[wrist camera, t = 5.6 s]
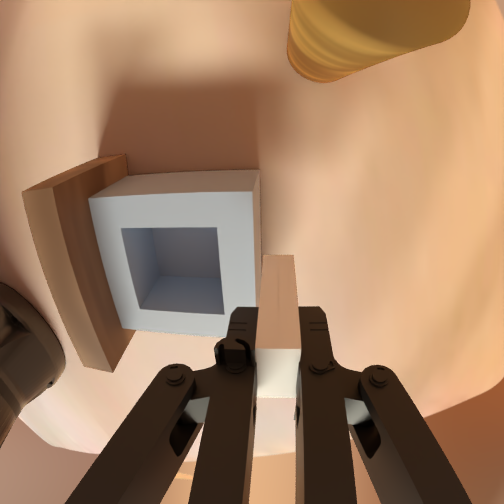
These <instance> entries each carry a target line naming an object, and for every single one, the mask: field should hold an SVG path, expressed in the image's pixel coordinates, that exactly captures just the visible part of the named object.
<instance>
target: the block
mask: <svg viewBox="0 0 504 504" xmlns="http://www.w3.org/2000/svg"><path fill="white" fill-rule="evenodd" d="M88 201H89V206H90V211H91V216H92V220H93V225H94V230H95V234H96V238H97V243H98V247H99V251H100V255H101V259H102V262H103V266H104V270H105V273H106V277H107V281H108V284H109V287H110V291H111V294H112V297H113V301H114V304H115V307H116V310H117V313H118V316H119V319H120V322H121V325H122V328H124V329H133V330H141V331H150V332H160V333H171V334H182V335H194V336H208V337H225V338H226V335H227V331H228V325H229V320H230V315H231V313H232V312H233V311H234V310H235V308H236V307H259V300H260V289H261V277H262V267H261V213H260V170H214V171H190V172H172V173H157V174H143V175H131V176H126V177H124V178H122V179H121V180H119V181H117V182H115V183H113V184H112V185H110V186H108V187H107V188H105V189H103V190H101V191H100V192H98V193H96V194H95V195H93V196H91V197H90V198H88Z"/></svg>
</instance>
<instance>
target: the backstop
mask: <svg viewBox="0 0 504 504" xmlns="http://www.w3.org/2000/svg"><path fill="white" fill-rule="evenodd" d="M126 176H128V169H127V161H126V154H123V155H115V156H107V157H100V158H96V159H93V160H91V161H88V162H86V163H84V164H81V165H79V166H76V167H74V168H72V169H69V170H67V171H65V172H63V173H60V174H58V175H56V176H54V177H51V178H49V179H47V180H45V181H43V182H41V183H39V184H37V185H35V186H33V187H31V188H29V189H27V190H25V191H23V192H22V197H23V201H24V206H25V210H26V214H27V218H28V222H29V226H30V229H31V233H32V237H33V240H34V244H35V247H36V250H37V253H38V257H39V260H40V263H41V266H42V269H43V272H44V275H45V278H46V280H47V283H48V286H49V289H50V291H51V294H52V296H53V299H54V302H55V304H56V307H57V309H58V311H59V314H60V316H61V319H62V321H63V323H64V326H65V328H66V330H67V332H68V335H69V337H70V339H71V341H72V343H73V345H74V347H75V349H76V351H77V353H78V356H79V358H80V360H81V361H82V363H83V365H84V367H89V368H93V369H98V370H102V371H107V372H112V373H113V372H114V370H115V368H116V366H117V364H118V362H119V361H120V359H121V357H122V355H123V353H124V351H125V349H126V348H127V346H128V344H129V342H130V340H131V339H132V337H133V335H134V333H135V331H136V330H133V329H124V328H122V325H121V322H120V319H119V316H118V313H117V310H116V307H115V304H114V301H113V297H112V294H111V291H110V287H109V284H108V281H107V277H106V273H105V270H104V266H103V262H102V259H101V255H100V251H99V247H98V243H97V238H96V234H95V230H94V225H93V220H92V216H91V211H90V206H89V201H88V198H90V197H91V196H93V195H95V194H96V193H98V192H100V191H101V190H103V189H105V188H107V187H108V186H110V185H112V184H113V183H115V182H117V181H119V180H121V179H122V178H124V177H126Z"/></svg>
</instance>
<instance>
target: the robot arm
mask: <svg viewBox="0 0 504 504" xmlns="http://www.w3.org/2000/svg"><path fill="white" fill-rule="evenodd" d="M214 352H215V359H216V364H215V365H214V366H212V367H210V368H206V369H202V370H197V371H192V369H191V368H190V367H188V366H186V365H184V364H171V365H168V366H166V367H164V368H163V369H161V370H160V371H159V372H158V374H157V375H156V377H155V378H154V379H153V381H152V382H151V384H150V385H149V386H148V388H147V389H146V390H145V392H144V393H143V395H142V396H141V397H140V399H139V400H138V402H137V403H136V404H135V406H134V407H133V409H132V410H131V411H130V413H129V414H128V415H127V417H126V418H125V420H124V421H123V422H122V424H121V425H120V427H119V428H118V429H117V431H116V432H115V434H114V435H113V436H112V438H111V439H110V441H109V442H108V443H107V445H106V446H105V448H104V449H103V450H102V452H101V453H100V455H99V456H98V458H97V459H96V460H95V462H94V463H93V464H92V466H91V467H90V469H89V470H88V471H87V473H86V474H85V476H84V477H83V478H82V480H81V481H80V483H79V484H78V486H77V487H76V488H75V490H74V491H73V492H72V494H71V496H70V497H69V498H68V500H67V501H66V502H65V504H160V502H161V501H162V499H163V497H164V495H165V493H166V491H167V490H168V488H169V486H170V485H171V483H172V481H173V479H174V477H175V476H176V474H177V472H178V470H179V468H180V467H181V465H182V463H183V461H184V459H185V457H186V456H187V454H188V452H189V450H190V448H191V446H192V445H193V443H194V441H195V439H196V437H197V435H198V433H199V431H200V430H201V428H202V426H203V424H204V428H203V432H202V437H201V442H200V447H199V452H198V457H197V462H196V467H195V472H194V477H193V482H192V487H191V492H190V497H189V502H188V504H249V494H250V482H251V471H252V459H253V448H254V435H255V423H256V410H257V407H256V400H257V397H267V398H296V408H295V415H294V420H295V421H296V503H295V504H357V498H356V487H355V478H354V469H353V460H352V451H351V443H350V436H349V431H350V433H351V435H352V438H353V440H354V442H355V444H356V447H357V449H358V451H359V453H360V456H361V458H362V460H363V463H364V465H365V467H366V469H367V472H368V474H369V477H370V479H371V481H372V483H373V486H374V488H375V490H376V493H377V495H378V497H379V500H380V502H381V504H472V503H471V501H470V499H469V497H468V495H467V493H466V491H465V490H464V488H463V486H462V484H461V482H460V480H459V479H458V477H457V475H456V473H455V471H454V470H453V468H452V466H451V464H450V463H449V461H448V459H447V457H446V456H445V454H444V452H443V451H442V449H441V447H440V445H439V444H438V442H437V440H436V439H435V437H434V435H433V434H432V432H431V430H430V429H429V427H428V425H427V424H426V422H425V421H424V419H423V417H422V416H421V414H420V412H419V411H418V409H417V407H416V406H415V404H414V403H413V401H412V399H411V398H410V396H409V395H408V393H407V392H406V390H405V388H404V387H403V385H402V384H401V382H400V381H399V379H398V377H397V376H396V374H395V373H394V372H393V371H392V370H391V369H389V368H387V367H385V366H381V365H372V366H369V367H367V368H365V369H364V370H363V372H358V371H353V370H349V369H346V368H344V367H342V366H340V365H339V364H338V363H337V361H336V360H335V359H334V356H333V352H332V346H331V341H330V335H329V331H328V324H327V319H326V314H325V313H324V311H323V310H322V309H321V308H320V307H319V306H317V307H298V298H297V287H296V275H295V265H294V255H263V266H262V277H261V289H260V300H259V307H236V308H235V310H234V311H233V312H232V313H231V315H230V320H229V325H228V331H227V335H226V338H223V339H221V340H220V341H219V342H218V343H216V345H215V347H214ZM64 369H65V358H64V354H63V351H62V349H61V346H60V344H59V342H58V340H57V338H56V337H55V335H54V333H53V332H52V330H51V329H50V327H49V326H48V325H47V323H46V322H45V321H44V319H43V318H42V317H41V316H40V314H39V313H38V312H37V311H36V310H35V309H34V308H33V307H32V306H31V305H30V304H29V303H28V302H27V301H26V300H25V299H24V298H23V297H22V296H21V295H19V294H18V293H17V292H15V291H14V290H13V289H11V288H10V287H8V286H6V285H4V284H2V283H0V448H1V446H2V444H3V442H4V440H5V438H6V437H7V435H8V433H9V431H10V429H11V427H12V426H13V424H14V422H15V420H16V418H17V417H18V415H19V414H20V412H21V410H22V409H23V407H24V406H25V405H27V404H28V403H29V402H31V401H32V400H34V399H35V398H36V397H38V396H39V395H40V394H41V393H43V392H44V391H45V390H46V389H47V388H50V387H52V386H53V385H54V384H55V383H56V382H57V380H58V379H59V377H60V376H61V374H62V373H63V371H64ZM204 422H205V423H204Z"/></svg>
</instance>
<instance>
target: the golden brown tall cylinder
mask: <svg viewBox="0 0 504 504" xmlns="http://www.w3.org/2000/svg"><path fill="white" fill-rule="evenodd" d="M469 10H470V0H292V4H291V14H290V24H289V34H288V43H287V55H288V59H289V61H290V64H291V65H292V67H293V68H294V70H295V71H296V72H297V73H299V74H300V75H301V76H303V77H304V78H306V79H308V80H311V81H314V82H319V83H327V82H333V81H336V80H338V79H340V78H343V77H345V76H348V75H350V74H352V73H355V72H357V71H360V70H362V69H365V68H367V67H370V66H373V65H375V64H378V63H381V62H383V61H386V60H389V59H391V58H394V57H397V56H400V55H403V54H406V53H409V52H412V51H415V50H418V49H421V48H424V47H427V46H431V45H434V44H437V43H441V42H443V41H446V40H448V39H450V38H451V37H453V36H454V35H456V34H457V33H458V32H459V31H460V30H461V29H462V27H463V26H464V24H465V22H466V20H467V18H468V15H469Z"/></svg>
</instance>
